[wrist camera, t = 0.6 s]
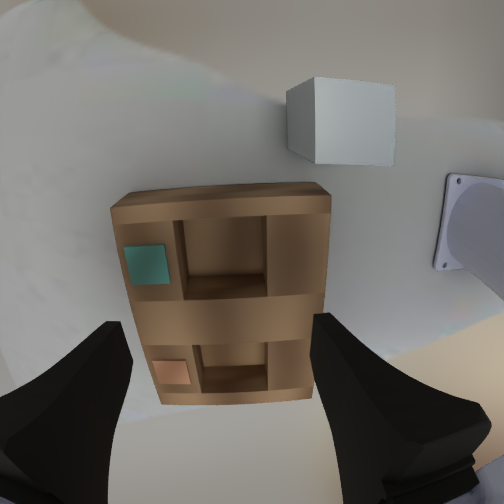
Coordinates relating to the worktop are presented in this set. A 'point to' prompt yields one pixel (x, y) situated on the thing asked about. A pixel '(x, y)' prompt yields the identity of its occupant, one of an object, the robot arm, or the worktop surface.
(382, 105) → the matte gray box
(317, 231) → the port block
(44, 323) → the worktop surface
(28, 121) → the worktop surface
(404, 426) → the robot arm
